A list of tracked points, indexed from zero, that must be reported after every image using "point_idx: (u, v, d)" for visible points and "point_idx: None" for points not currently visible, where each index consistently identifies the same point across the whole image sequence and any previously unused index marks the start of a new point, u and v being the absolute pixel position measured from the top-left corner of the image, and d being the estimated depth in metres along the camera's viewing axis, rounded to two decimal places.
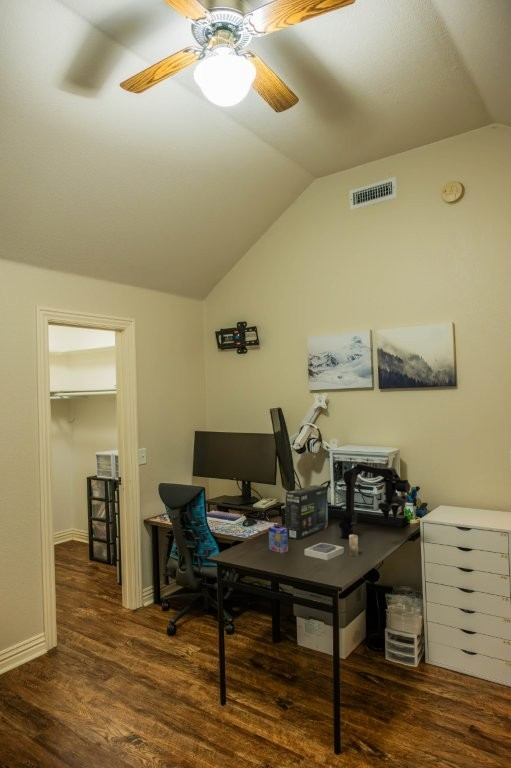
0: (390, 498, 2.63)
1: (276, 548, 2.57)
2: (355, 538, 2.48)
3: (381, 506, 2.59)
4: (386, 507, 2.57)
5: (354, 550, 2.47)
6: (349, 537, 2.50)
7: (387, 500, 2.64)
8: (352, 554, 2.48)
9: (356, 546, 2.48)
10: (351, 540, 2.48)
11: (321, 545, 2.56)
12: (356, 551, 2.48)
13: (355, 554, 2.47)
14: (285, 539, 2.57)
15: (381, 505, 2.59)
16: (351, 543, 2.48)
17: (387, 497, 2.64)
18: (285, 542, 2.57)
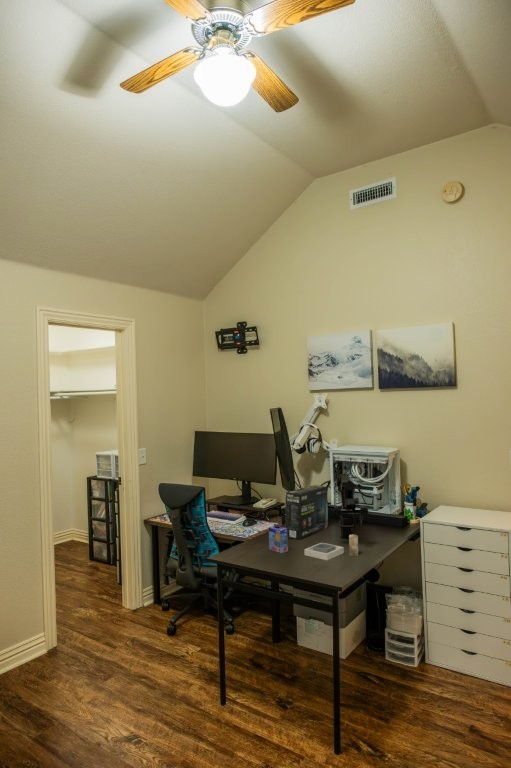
0: (345, 505, 2.66)
1: (276, 548, 2.57)
2: (355, 538, 2.48)
3: (333, 512, 2.65)
4: (333, 510, 2.63)
5: (354, 550, 2.47)
6: (349, 537, 2.50)
7: (345, 509, 2.66)
8: (352, 554, 2.48)
9: (356, 546, 2.48)
10: (351, 540, 2.48)
11: (321, 545, 2.56)
12: (356, 551, 2.48)
13: (355, 554, 2.47)
14: (285, 539, 2.57)
15: None
16: (351, 543, 2.48)
17: None
18: (285, 542, 2.57)
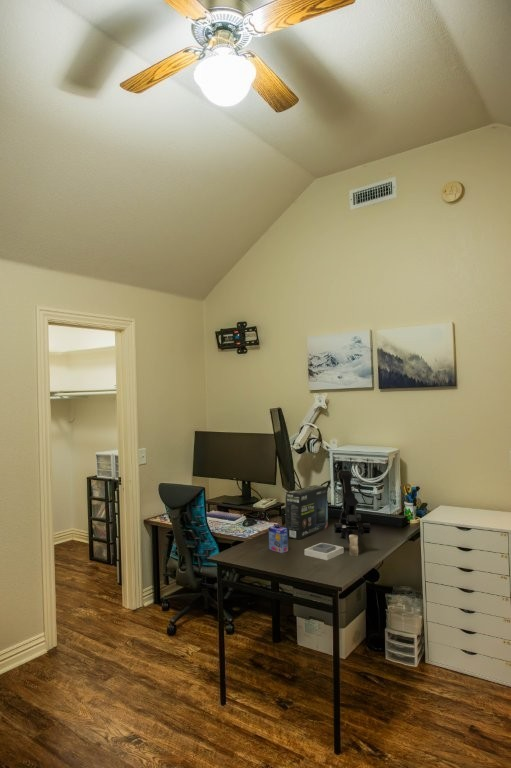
0: (347, 521, 2.57)
1: (276, 548, 2.57)
2: (355, 538, 2.48)
3: (334, 529, 2.56)
4: None
5: (354, 550, 2.47)
6: (349, 537, 2.49)
7: None
8: (352, 554, 2.48)
9: (356, 546, 2.48)
10: (351, 540, 2.48)
11: (321, 545, 2.56)
12: (356, 551, 2.48)
13: (355, 554, 2.47)
14: (285, 539, 2.57)
15: (334, 528, 2.57)
16: (351, 543, 2.48)
17: (346, 522, 2.58)
18: (285, 542, 2.57)
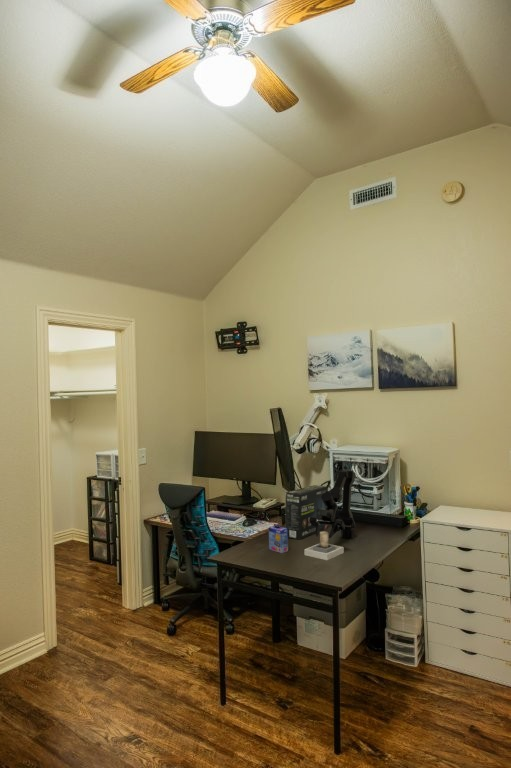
0: None
1: (276, 548, 2.57)
2: (324, 535, 2.50)
3: None
4: None
5: (322, 547, 2.50)
6: (320, 533, 2.53)
7: None
8: None
9: (325, 543, 2.50)
10: (320, 536, 2.52)
11: None
12: (325, 548, 2.50)
13: None
14: (285, 539, 2.57)
15: None
16: (320, 539, 2.52)
17: None
18: (285, 542, 2.57)
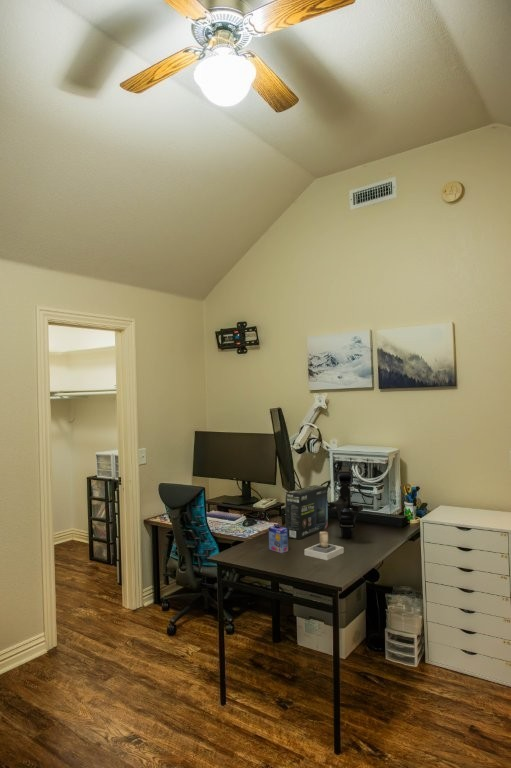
0: None
1: (276, 548, 2.57)
2: (323, 535, 2.51)
3: None
4: None
5: (322, 547, 2.50)
6: None
7: None
8: None
9: (324, 543, 2.50)
10: (320, 537, 2.52)
11: None
12: None
13: None
14: (285, 539, 2.57)
15: None
16: (320, 540, 2.52)
17: None
18: (285, 542, 2.57)
